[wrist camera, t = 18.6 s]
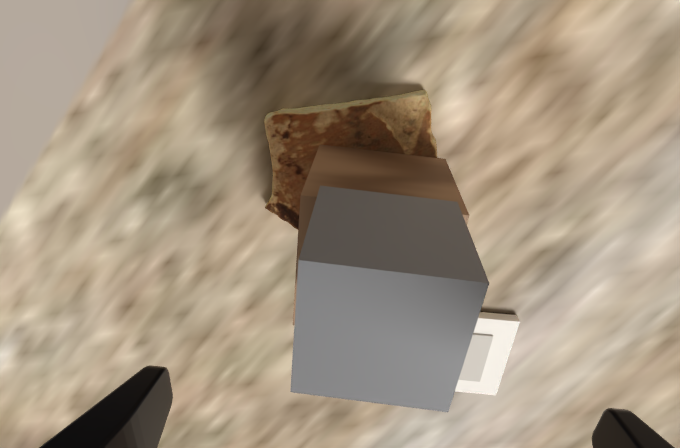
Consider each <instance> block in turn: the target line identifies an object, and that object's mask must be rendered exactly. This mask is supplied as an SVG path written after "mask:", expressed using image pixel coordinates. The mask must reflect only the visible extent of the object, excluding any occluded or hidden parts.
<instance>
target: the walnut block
mask: <svg viewBox="0 0 680 448" xmlns="http://www.w3.org/2000/svg"><path fill="white" fill-rule="evenodd" d="M320 186H328V187H336V188H345V189H353V190H362V191H370V192H379V193H387V194H396V195H404V196H413V197H421V198H430V199H438V200H446V201H455V202H458V204H459V207H460V210H461V212H462V215H463V217H464V220H465V222H466V225H467V222H468V218H469V214H468V211H467V209H466V207H465V204H464V202H463V199H462V197H461V195H460V192H459V190H458V188H457V185H456V183H455V181H454V178H453V176H452V174H451V171H450V169H449V166H448V164H447V162H446V159H441V158H433V157H424V156H415V155H407V154H398V153H390V152H381V151H373V150H364V149H356V148H346V147H337V146H329V145H321V144H320V145H319V148H318V151H317V153H316V156H315V158H314V161H313V164H312V166H311V169H310V172H309V174H308V177H307V180H306V182H305V185H304V187H303V190H302V193H301V196H300V213H299V229H298V246H297V263H296V280H295V297H294V314H293V325H295V309H296V293H297V276H298V260H299V256H300V253H301V250H302V246H303V243H304V239H305V236H306V233H307V229H308V226H309V222H310V219H311V215H312V212H313V209H314V205H315V202H316V198H317V195H318V191H319V188H320Z"/></svg>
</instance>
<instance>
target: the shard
mask: <svg viewBox="0 0 680 448" xmlns="http://www.w3.org/2000/svg"><path fill="white" fill-rule="evenodd" d="M264 124H265V130H266V136H267V140H268V143H269V150H270V155H271V161H272V169H273V179H272V196H271V198H270V200H269V202H268V203H267V204H266V206H265V208H266V209H268V210H269V211H270V212H272V213H274V214H276V215H277V216H278V217H279V218H281V219H282V220H284V221H287V222H288V223H290V224H291V225H292V226H293V227H294V228H296V229H299V213H300V196H301V193H302V190H303V187H304V185H305V182H306V180H307V177H308V174H309V172H310V169H311V166H312V164H313V161H314V158H315V156H316V153H317V151H318V148H319V145H320V144H321V145H329V146H337V147H346V148H356V149H364V150H373V151H381V152H390V153H398V154H407V155H415V156H424V157H433V158H437V146H436V140H435V138H434V136H433V134H432V132H431V104H430V102H429V99H428V94H427V92H426V91H425V90H419V91H413V92H410V93H404V94H401V95H395V96H388V97H382V98H373V99H366V100H355V101H350V102H346V103H345V102H342V103H338V104H322V105H316V106H309V107H302V108H293V109H285V108H282V109H281V110H278V111H275V112H270V113H268V114H267V115H266V117H265V120H264Z"/></svg>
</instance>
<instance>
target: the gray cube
mask: <svg viewBox="0 0 680 448" xmlns="http://www.w3.org/2000/svg"><path fill="white" fill-rule="evenodd" d="M488 285H489V282H488V279H487V276H486V274H485V271H484V269H483V266H482V264H481V261H480V258H479V256H478V253H477V251H476V248H475V246H474V243H473V240H472V238H471V235H470V233H469V230H468V228H467V225H466V222H465V220H464V217H463V215H462V212H461V210H460V207H459V204H458V202H455V201H446V200H438V199H430V198H421V197H413V196H404V195H396V194H387V193H379V192H370V191H362V190H353V189H345V188H336V187H328V186H320V188H319V191H318V195H317V198H316V202H315V205H314V209H313V212H312V215H311V219H310V222H309V226H308V229H307V233H306V236H305V239H304V243H303V246H302V250H301V253H300V256H299V260H298V276H297V293H296V309H295V326H294V343H293V360H292V376H291V392H294V393H302V394H310V395H317V396H325V397H333V398H341V399H349V400H357V401H364V402H372V403H380V404H388V405H396V406H403V407H411V408H419V409H427V410H435V411H442V412H448V411H449V408H450V405H451V401H452V398H453V395H454V392H455V389H456V386H457V383H458V379H459V376H460V373H461V370H462V367H463V364H464V361H465V357H466V354H467V351H468V348H469V345H470V342H471V339H472V335H473V332H474V329H475V326H476V323H477V320H478V317H479V314H480V310H481V307H482V304H483V301H484V298H485V295H486V292H487V288H488Z"/></svg>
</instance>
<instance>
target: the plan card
mask: <svg viewBox="0 0 680 448" xmlns="http://www.w3.org/2000/svg"><path fill="white" fill-rule="evenodd" d="M519 323H520V321H519V319H518V316H517V315H510V314H499V313H487V312H480V314H479V317H478V320H477V323H476V326H475V329H474V332H473V335H472V339H471V342H470V345H469V348H468V351H467V354H466V357H465V361H464V364H463V367H462V370H461V373H460V376H459V379H458V383H457V386H456V389H455V391H457V392H468V393H478V394H489V395H496V394H497V391H498V387H499V384H500V381H501V378H502V375H503V372H504V369H505V366H506V363H507V360H508V357H509V354H510V351H511V348H512V345H513V341H514V338H515V335H516V332H517V329H518V326H519Z"/></svg>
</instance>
